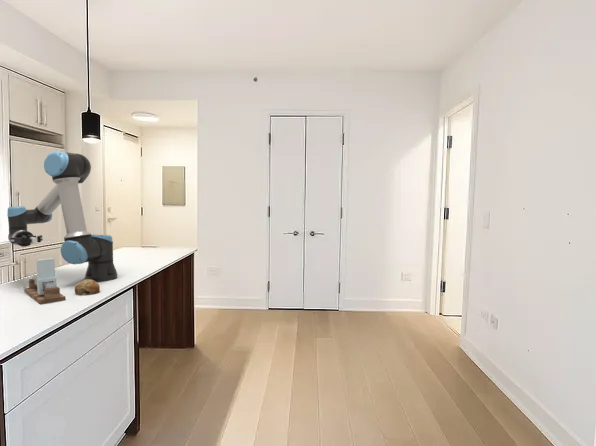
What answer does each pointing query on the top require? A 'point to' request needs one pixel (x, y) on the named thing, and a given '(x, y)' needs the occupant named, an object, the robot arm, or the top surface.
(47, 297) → the base board
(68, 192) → the robot arm
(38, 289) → the slotted grey-blue plate
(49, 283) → the grey square bar
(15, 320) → the top surface
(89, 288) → the bread roll
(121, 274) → the top surface
